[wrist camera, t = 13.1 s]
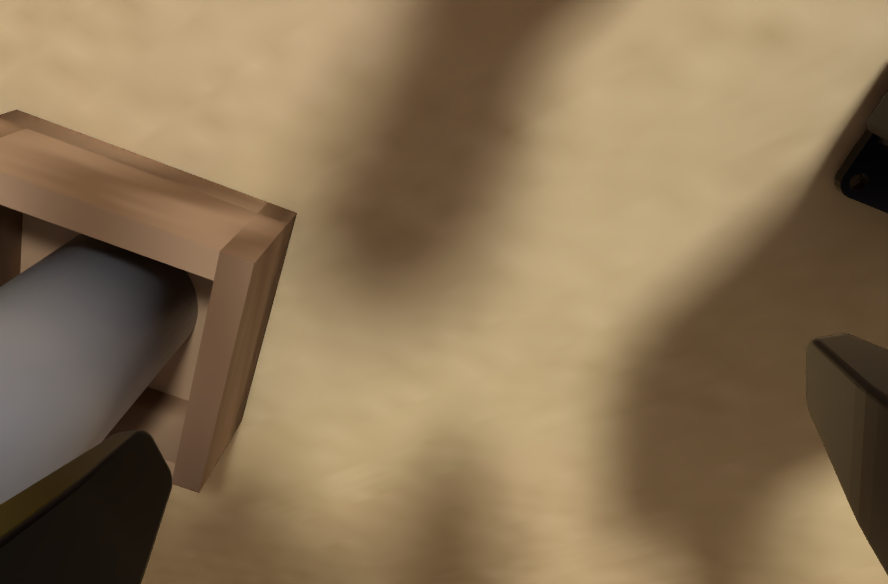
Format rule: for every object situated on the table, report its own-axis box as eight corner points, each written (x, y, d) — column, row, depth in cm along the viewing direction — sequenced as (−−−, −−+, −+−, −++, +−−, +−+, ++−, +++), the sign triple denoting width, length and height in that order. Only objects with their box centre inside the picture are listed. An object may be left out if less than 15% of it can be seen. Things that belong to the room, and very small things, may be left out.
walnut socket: (296, 213, 22) (254, 263, 18) (241, 420, 26) (199, 492, 23) (16, 109, 21) (-84, 141, 18) (8, 340, 26) (-73, 402, 22)
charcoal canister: (226, 300, 23) (-46, 638, 12) (147, 377, 24) (-151, 730, 13) (105, 197, 21) (-337, 471, 10) (31, 288, 23) (-408, 600, 12)
